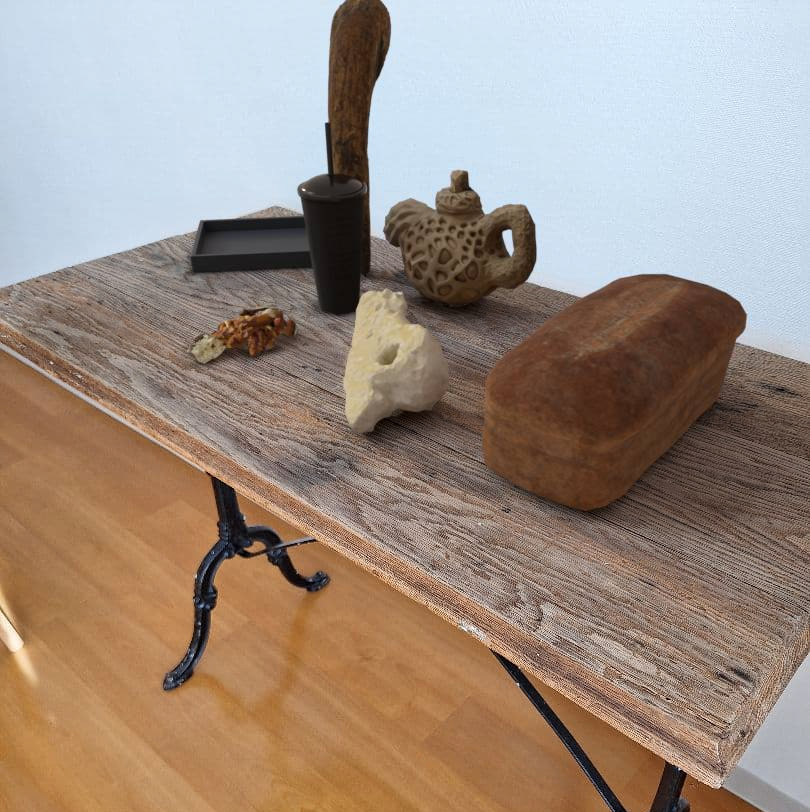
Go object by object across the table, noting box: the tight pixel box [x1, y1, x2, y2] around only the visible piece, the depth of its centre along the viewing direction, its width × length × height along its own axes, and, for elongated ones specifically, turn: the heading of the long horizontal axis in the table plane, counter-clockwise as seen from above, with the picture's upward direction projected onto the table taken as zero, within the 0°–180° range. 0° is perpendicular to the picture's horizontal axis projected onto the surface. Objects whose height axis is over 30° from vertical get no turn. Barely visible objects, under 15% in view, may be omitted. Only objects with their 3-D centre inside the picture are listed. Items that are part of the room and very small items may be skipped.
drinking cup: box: [296, 122, 367, 315], centre depth 91 cm, size 8×8×20 cm
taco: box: [186, 302, 298, 365], centre depth 89 cm, size 7×12×4 cm, turn 131°
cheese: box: [342, 287, 450, 434], centre depth 78 cm, size 15×7×15 cm
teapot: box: [382, 169, 538, 308], centre depth 93 cm, size 21×12×15 cm, turn 49°
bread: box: [481, 273, 748, 512], centre depth 71 cm, size 14×28×12 cm, turn 141°
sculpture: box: [327, 0, 392, 277], centre depth 96 cm, size 7×7×30 cm
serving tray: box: [190, 215, 313, 273], centre depth 111 cm, size 17×14×2 cm
